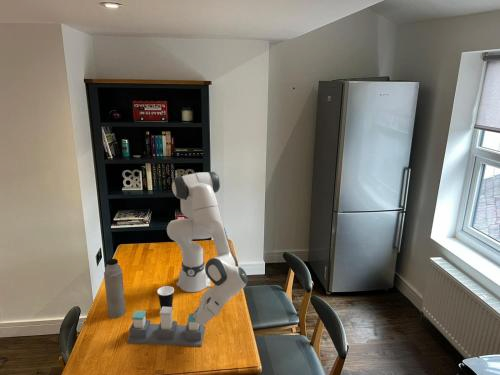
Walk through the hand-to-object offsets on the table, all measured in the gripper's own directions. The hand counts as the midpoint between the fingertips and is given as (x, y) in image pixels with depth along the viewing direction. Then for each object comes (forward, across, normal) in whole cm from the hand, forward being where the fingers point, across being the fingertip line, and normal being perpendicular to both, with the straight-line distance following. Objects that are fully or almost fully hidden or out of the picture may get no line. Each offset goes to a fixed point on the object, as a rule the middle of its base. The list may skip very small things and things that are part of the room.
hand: (194, 315), depth 158 cm
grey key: (+13, 0, -4) cm, 14 cm away
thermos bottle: (+36, -14, -21) cm, 44 cm away
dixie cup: (+20, -18, -4) cm, 27 cm away
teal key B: (+7, 0, +7) cm, 10 cm away
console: (+16, 0, -1) cm, 16 cm away
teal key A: (+24, 0, -10) cm, 26 cm away
